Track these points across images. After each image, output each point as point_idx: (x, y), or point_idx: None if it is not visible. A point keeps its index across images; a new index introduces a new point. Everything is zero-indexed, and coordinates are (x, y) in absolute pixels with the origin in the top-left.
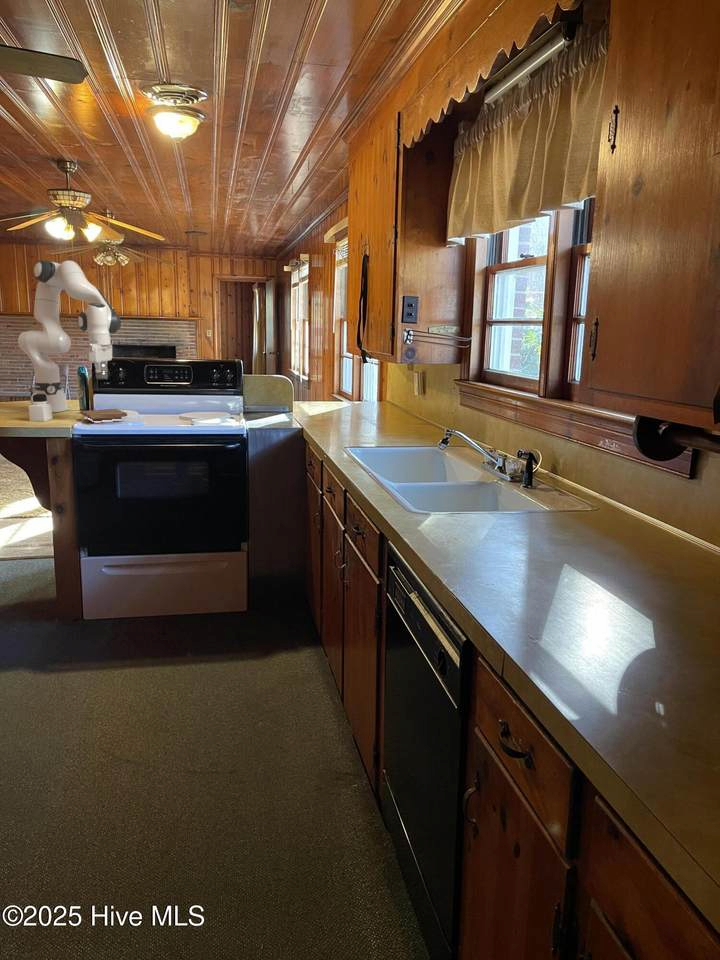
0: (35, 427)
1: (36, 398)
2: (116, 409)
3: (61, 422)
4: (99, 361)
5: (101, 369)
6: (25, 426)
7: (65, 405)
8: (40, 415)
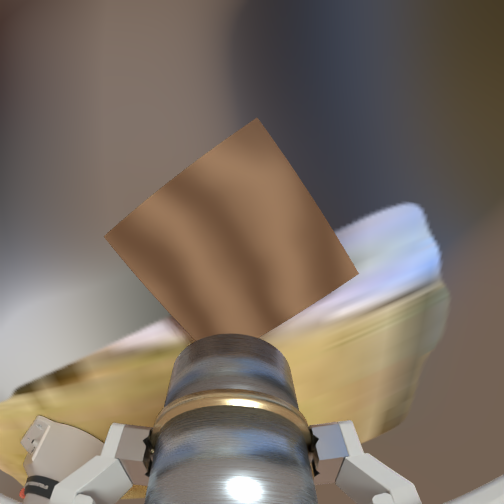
0: (392, 389)
1: None
2: (123, 228)
3: (293, 374)
4: (481, 495)
5: (306, 449)
6: (370, 416)
7: (51, 433)
8: None
